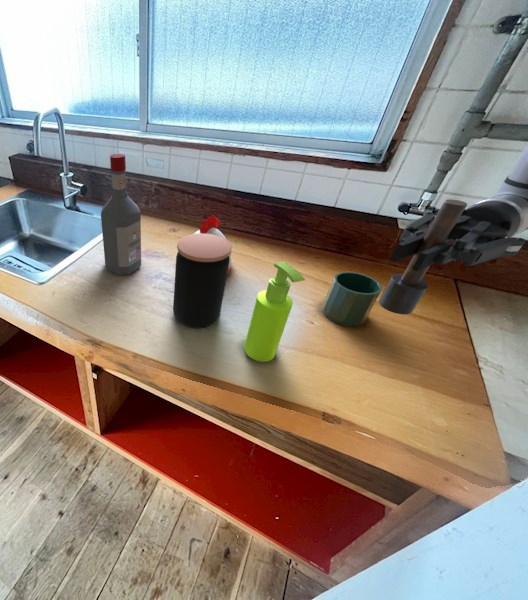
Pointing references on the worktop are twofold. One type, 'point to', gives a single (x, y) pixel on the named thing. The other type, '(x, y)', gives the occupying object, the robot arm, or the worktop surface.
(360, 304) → the teal faceted cup
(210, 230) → the kitchen timer
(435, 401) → the worktop surface
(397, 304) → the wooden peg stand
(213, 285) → the coffee jar
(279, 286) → the soap dispenser
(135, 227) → the liquor
